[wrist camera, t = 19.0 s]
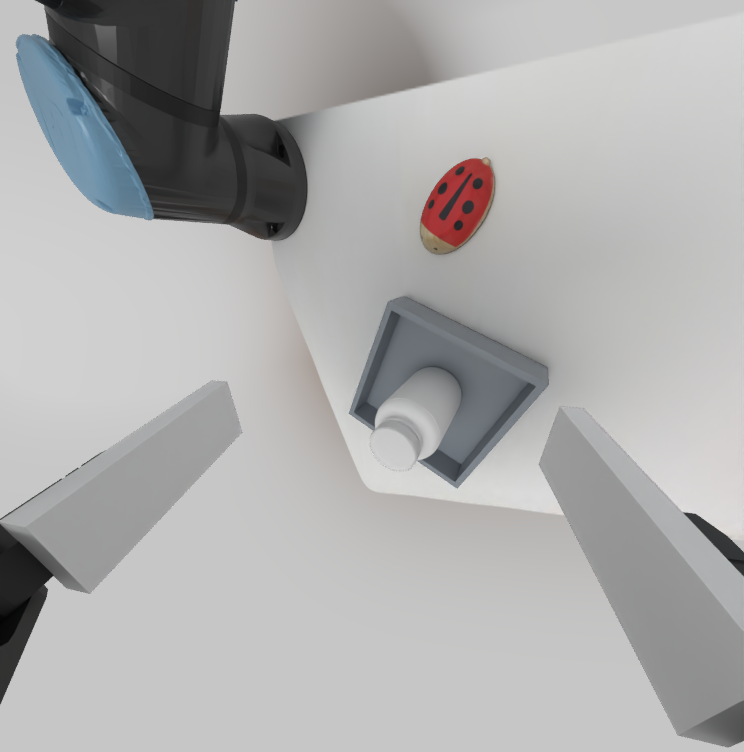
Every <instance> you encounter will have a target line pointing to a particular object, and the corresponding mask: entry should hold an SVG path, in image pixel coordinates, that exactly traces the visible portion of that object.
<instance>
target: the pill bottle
mask: <svg viewBox="0 0 744 752" xmlns="http://www.w3.org/2000/svg"><path fill="white" fill-rule="evenodd" d="M461 399H462V392H461V388H460V385H459V383H458V381H457V380H456V379H455V377H454V376H453V375H451V374H450V373H449V372H447V371H446V370H443V369H441V368H437V367H427V368H423V369H421V370H419V371H417V372H416V373H414V374H413V375H412V376H411V377H410V378H409V379H408V380H407V381H406V382H405V383H404V384H403V385H402V386H401V387H400V388H399V389H398V390H396V391H395V392H394V393H393V394H392V395H391V396H390V397H389V398H388V399H387V400H386V401H385V402H384V403H383V404H382V405H381V406H380V408H379V409H378V411H377V414H376V417H375V430H374V431H373V432H372V434H371V436H370V448H371V451H372V453H373V455H374V456H375V458H376V459H377V460H378V461H379V462H380V463H381V464H382V465H384V466H385V467H387V468H389V469H391V470H394V471H406V470H409V469H410V468H412V467H413V466H414V464H415V463H416V461H418V460H422V459H425V458H427V457H429V456H430V455H432V454H433V453H434V452H435V451H436V449H437V448H438V446H439V444H440V442H441V440H442V439H443V437H444V435H445V433H446V431H447V429H448V427H449V425H450V423H451V421H452V419H453V417H454V416H455V414H456V412H457V410H458V408H459V406H460V403H461Z"/></svg>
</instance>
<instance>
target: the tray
mask: <svg viewBox="0 0 744 752" xmlns="http://www.w3.org/2000/svg"><path fill="white" fill-rule="evenodd" d="M427 367H437V368H441V369H443V370H446V371H447V372H449V373H450V374H451V375H453V376H454V377H455V379H456V380H457V381H458V383H459V385H460V388H461V392H462V399H461V403H460V406H459V408H458V410H457V412H456V414H455V416H454V417H453V419H452V421H451V423H450V425H449V427H448V429H447V431H446V433H445V435H444V437H443V439H442V440H441V442H440V444H439V446H438V448H437V449H436V451H435V452H434V453H433V454H432V455H430V456H429V457H427V458H425V459H422V460H418V462H420V463H421V464H422V465H424V466H425V467H427V468H428V469H430V470H431V471H433V472H434V473H435V474H437V475H438V476H440V477H441V478H443V479H444V480H446V481H447V482H448V483H450V484H451V485H453V486H454V487H456V488H458V487H459V486H460V485H461V484H462V483H463V482H464V480H465V479H466V478H467V477H468V476H469V475H470V474H471V472H472V471H473V470H474V469H475V468H476V467H477V466H478V464H479V463H480V462H481V461H482V460H483V459H484V458H485V457H486V455H487V454H488V453H489V452H490V451H491V450H492V449H493V447H494V446H495V445H496V444H497V443H498V442H499V441H500V439H501V438H502V437H503V436H504V435H505V434H506V433H507V432H508V430H509V429H510V428H511V427H512V426H513V425H514V424H515V422H516V421H517V420H518V419H519V418H520V417H521V416H522V414H523V413H524V412H525V411H526V410H527V409H528V408H529V407H530V405H531V404H532V403H533V402H534V401H535V400H536V399H537V397H538V396H539V395H540V394H541V393H542V392H543V391H544V389H545V388H546V387H547V386H548V385H549V380H548V368H547V367H545V366H543V365H541V364H539V363H537V362H535V361H533V360H531V359H529V358H527V357H525V356H523V355H521V354H519V353H517V352H515V351H513V350H511V349H509V348H507V347H505V346H503V345H501V344H499V343H497V342H495V341H493V340H491V339H489V338H487V337H485V336H483V335H481V334H479V333H477V332H475V331H473V330H471V329H469V328H467V327H465V326H463V325H461V324H459V323H457V322H455V321H453V320H451V319H449V318H447V317H445V316H443V315H441V314H439V313H437V312H435V311H433V310H431V309H429V308H427V307H425V306H423V305H421V304H419V303H417V302H415V301H413V300H411V299H409V298H407V297H405V296H403V297H400V298H397V299H394V300H391V301H388V303H387V306H386V309H385V312H384V315H383V318H382V320H381V323H380V326H379V329H378V332H377V335H376V337H375V340H374V343H373V346H372V349H371V352H370V355H369V357H368V360H367V363H366V366H365V369H364V372H363V374H362V377H361V380H360V383H359V386H358V389H357V391H356V394H355V397H354V400H353V403H352V406H351V408H350V411H349V414H350V415H352V416H353V417H355V418H356V419H357V420H359V421H360V422H362V423H363V424H365V425H366V426H368V427H369V428H370V429H372V430H373V431H374V430H375V417H376V414H377V411H378V409H379V408H380V406H381V405H382V404H383V403H384V402H385V401H386V400H387V399H388V398H389V397H390V396H391V395H392V394H393V393H394V392H395V391H396V390H398V389H399V388H400V387H401V386H402V385H403V384H404V383H405V382H406V381H407V380H408V379H409V378H410V377H411V376H412V375H413V374H414V373H416V372H417V371H419V370H421V369H423V368H427Z"/></svg>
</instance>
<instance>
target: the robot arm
mask: <svg viewBox="0 0 744 752" xmlns="http://www.w3.org/2000/svg"><path fill="white" fill-rule="evenodd" d="M36 1H38V2H40V3H41V4H43V5H44V6H45V12H46V18H47V24H48V30H49V41H48V40H47V39H45V38H43V37H41V36H39V35H36V34H33V35H32V36H30V35H25V34H22V35H20V36H19V37H18V39H17V41H16V46H17V49H18V53H17V54H16V57H17V62H18V66H19V71H20V75H21V78H22V81H23V84H24V87H25V90H26V93H27V96H28V98H29V101H30V103H31V106H32V108H33V110H34V113H35V115H36V117H37V120H38V122H39V124H40V126H41V129H42V131H43V133H44V135H45V137H46V139H47V141H48V143H49V145H50V146H51V148H52V150H53V152H54V154H55V155H56V157H57V159H58V161H59V162H60V164H61V165H62V167H63V169H64V170H65V171H66V173H67V175H68V176H69V177H70V179H71V180H72V182H73V183H74V184H75V185H76V187H77V188H78V189H79V190H80V191H81V192H82V194H83V195H84V196H85V197H86V198H87V199H89V200H90V201H91V202H92V203H93V204H95V205H96V206H98V207H99V208H101V209H103V210H105V211H107V212H110V213H113V214H120V215H125V216H132V217H138V218H144V219H146V220H152V219H161V220H175V221H189V222H202V223H218V224H228V225H231V226H233V227H235V228H237V229H240V230H242V231H244V232H246V233H248V234H251V235H253V236H255V237H257V238H260V239H264V240H282V239H285V238H286V237H288V236H290V235H291V234H292V233H293V232H294V231H295V229H296V228H297V226H298V225H299V223H300V221H301V218H302V215H303V212H304V208H305V203H306V193H307V183H306V173H305V167H304V163H303V159H302V156H301V153H300V151H299V148H298V146H297V144H296V142H295V140H294V139H293V137H292V136H291V134H290V133H289V132H288V131H287V130H286V129H285V128H284V127H283V126H282V125H280V124H279V123H277V122H275V121H273V120H271V119H269V118H267V117H264V116H261V115H257V114H246V115H245V114H243V115H220V109H221V102H222V95H223V87H224V79H225V72H226V65H227V57H228V50H229V42H230V35H231V26H232V19H233V11H234V4H235V1H237V0H36ZM241 433H242V429H241V426H240V422H239V419H238V416H237V412H236V409H235V406H234V403H233V399H232V396H231V393H230V389H229V386H228V383H227V382H225V381H210V382H209V383H207V384H206V385H204V386H202V387H201V388H200V389H198V390H196V391H195V392H193V393H192V394H190V395H189V396H187V397H186V398H184V399H183V400H181V401H180V402H178V403H177V404H175V405H174V406H172V407H171V408H169V409H168V410H166V411H165V412H163V413H162V414H160V415H159V416H157V417H156V418H154V419H153V420H151V421H150V422H148V423H147V424H145V425H144V426H142V427H141V428H139V429H138V430H136V431H134V432H133V433H131V434H130V435H129V436H127V437H125V438H124V439H122V440H121V441H119V442H118V443H116V444H115V445H113V446H112V447H111V448H109V449H107V450H106V451H104V452H102V453H100V454H98V455H97V456H95V457H93V458H92V459H91V460H89V461H87V462H86V463H84V464H83V465H82V466H81V467H80V468H77V469H75V470H74V471H72V472H71V473H69V474H68V475H66V477H65V478H63V479H60V480H59V481H57V482H56V483H54V484H52V485H51V486H49V487H48V488H46V489H45V490H43V491H42V492H40V493H39V494H37V495H36V496H34V497H33V498H31V499H30V500H28V501H27V502H25V503H24V504H22V505H21V506H19V507H18V508H16V509H15V510H13V511H12V512H10V513H8V514H7V515H5V516H4V517H3V518H1V519H0V704H1V702H2V699H3V697H4V695H5V692H6V690H7V688H8V685H9V683H10V681H11V678H12V676H13V674H14V671H15V669H16V667H17V665H18V662H19V660H20V658H21V655H22V653H23V651H24V648H25V646H26V643H27V641H28V639H29V637H30V634H31V632H32V630H33V627H34V625H35V623H36V620H37V618H38V616H39V613H40V611H41V609H42V606H43V604H44V602H45V600H46V597H47V591H48V589H47V588H46V587H45V585H44V584H45V583H46V582H47V581H48V580H49V579H50V578H51V577H52V576H54V577H55V578H56V579H57V580H59V582H61V583H62V584H63V585H64V586H65V587H66V588H68V589H73V590H76V591H80V592H85V593H89V594H90V593H91V592H92V591H93V590H94V589H95V588H96V587H97V586H98V585H99V583H100V582H101V581H102V580H103V579H104V578H105V577H106V576H107V575H108V574H109V573H110V572H111V571H112V570H113V569H114V568H115V567H116V565H117V564H118V563H119V562H120V561H121V560H122V559H123V558H124V557H125V556H126V555H127V554H128V553H129V552H130V551H131V550H132V549H133V547H134V546H135V545H136V544H137V543H138V542H139V541H140V540H141V539H142V538H143V537H144V536H145V535H146V534H147V533H148V532H149V531H150V529H151V528H152V527H153V526H154V525H155V524H156V523H157V522H158V521H159V520H160V519H161V518H162V517H163V516H164V515H165V514H166V513H167V511H168V510H169V509H170V508H171V507H172V506H173V505H174V504H175V503H176V502H177V501H178V500H179V499H180V498H181V497H182V496H183V495H184V493H185V492H186V491H187V490H188V489H189V488H190V487H191V486H192V485H193V484H194V483H195V482H196V481H197V480H198V479H199V477H201V475H202V474H203V473H204V472H205V471H206V470H207V469H208V468H209V467H210V466H211V465H212V464H213V463H214V462H215V461H216V460H217V458H218V457H219V456H220V455H221V454H222V453H223V452H224V451H225V450H226V449H227V448H228V447H229V446H230V445H231V444H232V443H233V442H234V441H235V439H236V438H237V437H238V436H239V435H240V434H241ZM539 466H540V468H541V470H542V472H543V473H544V475H545V477H546V479H547V481H548V483H549V485H550V487H551V489H552V491H553V493H554V495H555V497H556V499H557V501H558V503H559V505H560V507H561V509H562V511H563V512H564V514H565V516H566V518H567V520H568V522H569V524H570V526H571V528H572V530H573V532H574V534H575V536H576V538H577V540H578V542H579V544H580V546H581V548H582V550H583V552H584V553H585V555H586V557H587V559H588V561H589V563H590V565H591V567H592V569H593V571H594V573H595V575H596V577H597V579H598V581H599V583H600V584H601V587H602V588H603V590H604V592H605V594H606V596H607V598H608V600H609V602H610V604H611V606H612V608H613V610H614V612H615V614H616V616H617V618H618V619H619V622H620V624H621V626H622V628H623V630H624V631H625V633H626V635H627V637H628V639H629V641H630V643H631V645H632V647H633V649H634V651H635V653H636V655H637V657H638V659H639V661H640V663H641V665H642V667H643V669H644V671H645V672H646V674H647V676H648V678H649V680H650V682H651V684H652V686H653V688H654V690H655V692H656V694H657V696H658V698H659V700H660V702H661V704H662V706H663V708H664V710H665V711H666V713H667V715H668V717H669V719H670V721H671V723H672V725H673V727H674V729H675V731H676V733H677V735H679V736H683V737H687V738H692V739H695V740H700V741H704V742H708V743H712V744H716V745H721V746H725V747H731V746H733V745H735V744H737V743H740V742H742V741H744V552H743V551H742V550H741V549H740V548H739V547H738V546H737V545H736V544H735V543H734V542H733V541H732V540H731V539H730V538H729V537H728V536H726V535H725V534H723V533H722V532H721V531H719V530H718V529H716V528H715V527H714V526H712V525H711V524H709V523H708V522H706V521H705V520H704V519H702V518H701V517H699V516H698V515H696V514H692V513H684V512H682V511H681V510H680V509H679V508H678V507H677V506H676V505H675V504H674V503H673V502H672V501H671V500H670V499H669V497H668V496H667V495H666V494H665V493H664V492H663V491H662V490H661V489H660V488H659V487H658V486H657V485H656V484H655V483H654V482H653V481H652V480H651V479H650V477H649V476H648V475H647V474H646V473H645V472H644V471H643V470H642V469H641V468H640V467H639V466H638V465H637V464H636V463H635V462H634V461H633V460H632V459H631V457H630V456H629V455H628V454H627V453H626V452H625V451H624V450H623V449H622V448H621V447H620V446H619V445H618V444H617V443H616V442H615V441H614V440H613V439H612V437H611V436H610V435H609V434H608V433H607V432H606V431H605V430H604V429H603V428H602V427H601V426H600V425H599V424H598V423H597V422H596V421H595V420H594V419H593V417H592V416H591V415H590V414H589V413H588V412H587V411H586V410H585V409H584V408H573V407H559V410H558V413H557V415H556V418H555V421H554V423H553V426H552V429H551V432H550V434H549V437H548V440H547V443H546V445H545V448H544V451H543V454H542V456H541V459H540V462H539Z"/></svg>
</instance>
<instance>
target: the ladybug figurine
mask: <svg viewBox="0 0 744 752" xmlns="http://www.w3.org/2000/svg"><path fill="white" fill-rule="evenodd" d="M494 189H495V178H494V173H493V170H492V168H491V167H490V160H489V159H488V158H487V157H485V158H483V159H482V160H481V159H477V158H473V159H468V160H465V161H463V162H461V163H459V164H457V165H456V166H454V167H453V168H452V169H450V170H449V171H448V172H447V173H446V174H445V175H444V176H443V177H442V178H441V180H440V181H439V182H438V183H437V185H436V186H435V187H434V189H433V191H432V192H431V194H430V196H429V198H428V200H427V202H426V204H425V207H424V210H423V213H422V217H421V222H420V236H421V240H422V243H423V245H424V246H425V248H426V249H427V250H428V251H430V252H431V253H434V254H446V253H449V252H452V251H454V250H456V249H457V248H459V247H460V246H462V245H463V244H464V243H465V242H467V241H468V240H469V239H470V237H471V236H472V235H473V234H474V233H475V232H476V230H477V229H478V228H479V226H480V225H481V223H482V222H483V220H484V218H485V217H486V215H487V213H488V210H489V208H490V206H491V203H492V199H493V195H494Z"/></svg>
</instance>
